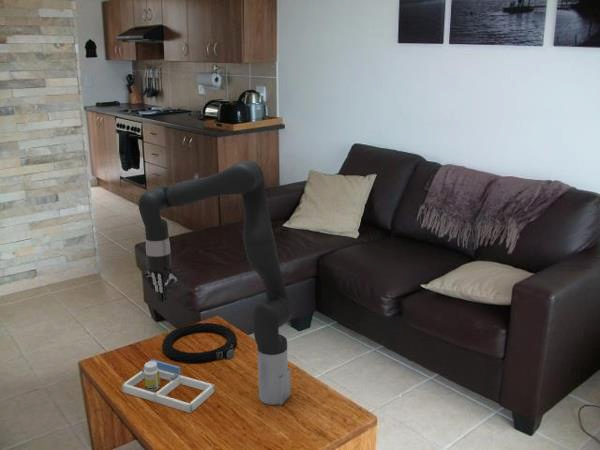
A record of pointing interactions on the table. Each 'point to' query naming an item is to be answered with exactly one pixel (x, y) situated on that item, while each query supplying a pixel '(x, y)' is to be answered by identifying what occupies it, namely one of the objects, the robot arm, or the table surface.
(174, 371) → the two-slot divided caddy
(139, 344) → the table surface
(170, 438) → the table surface
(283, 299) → the robot arm
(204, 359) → the cable lock
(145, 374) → the supplement bottle
